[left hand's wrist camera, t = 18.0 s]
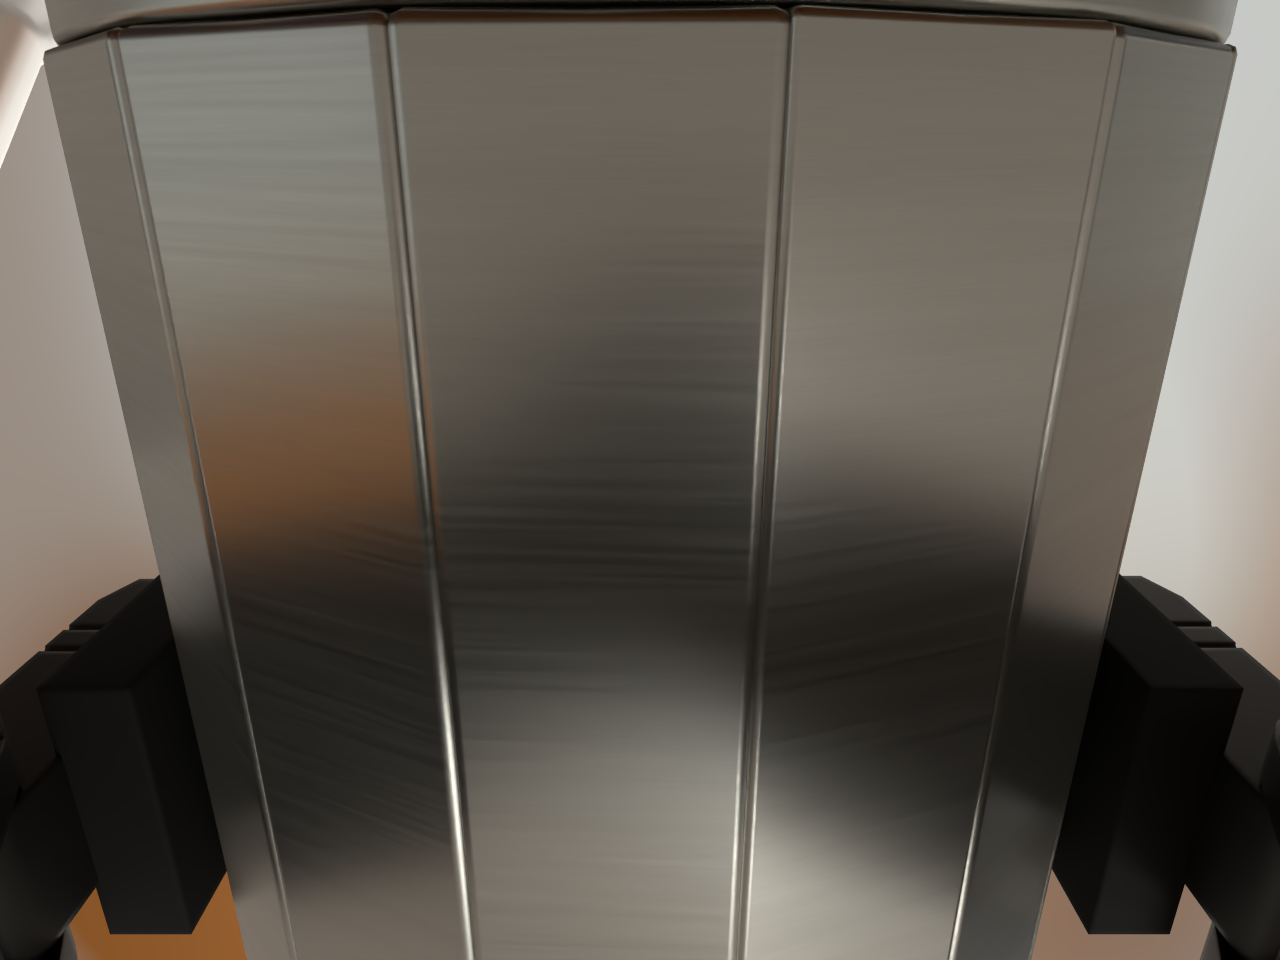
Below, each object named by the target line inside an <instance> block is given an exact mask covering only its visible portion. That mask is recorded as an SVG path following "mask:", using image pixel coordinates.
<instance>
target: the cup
mask: <svg viewBox="0 0 1280 960" xmlns="http://www.w3.org/2000/svg"><path fill="white" fill-rule="evenodd" d="M1237 2H1238V0H45V5H46V9H47V14H48V18H49V23H50V27H51V32H52V35H53V39H54V40H55V42H56V44H57V45H58V46H57V47H54V48H51V49H49V50H46V51H45V52H44V57H43V62H44V66H45V71H46V75H47V79H48V84H49V88H50V93H51V97H52V101H53V106H54V110H55V115H56V119H57V124H58V128H59V132H60V137H61V141H62V145H63V150H64V154H65V159H66V163H67V168H68V172H69V176H70V181H71V185H72V190H73V194H74V199H75V203H76V207H77V212H78V216H79V220H80V225H81V229H82V234H83V238H84V243H85V247H86V251H87V256H88V260H89V265H90V269H91V274H92V278H93V282H94V287H95V291H96V296H97V300H98V304H99V309H100V313H101V318H102V322H103V326H104V331H105V335H106V340H107V344H108V348H109V353H110V357H111V362H112V366H113V371H114V375H115V379H116V384H117V388H118V393H119V397H120V402H121V406H122V410H123V415H124V419H125V424H126V428H127V432H128V437H129V441H130V446H131V450H132V454H133V459H134V463H135V468H136V472H137V476H138V481H139V485H140V490H141V494H142V499H143V503H144V507H145V512H146V516H147V520H148V525H149V529H150V534H151V538H152V543H153V547H154V551H155V556H156V560H157V565H158V569H159V574H160V578H161V582H162V587H163V591H164V596H165V600H166V604H167V609H168V613H169V618H170V622H171V627H172V631H173V635H174V640H175V644H176V649H177V653H178V657H179V662H180V666H181V671H182V675H183V679H184V684H185V688H186V693H187V697H188V702H189V706H190V710H191V715H192V719H193V724H194V728H195V732H196V737H197V741H198V746H199V750H200V755H201V759H202V763H203V768H204V772H205V777H206V781H207V785H208V790H209V794H210V799H211V803H212V807H213V812H214V816H215V821H216V825H217V830H218V834H219V838H220V843H221V847H222V852H223V856H224V860H225V865H226V869H227V873H228V878H229V882H230V887H231V891H232V896H233V900H234V904H235V909H236V913H237V918H238V922H239V926H240V931H241V935H242V940H243V944H244V949H245V953H246V957H247V960H1031V957H1032V953H1033V949H1034V944H1035V940H1036V935H1037V931H1038V926H1039V922H1040V918H1041V914H1042V909H1043V905H1044V900H1045V896H1046V892H1047V887H1048V883H1049V878H1050V874H1051V870H1052V865H1053V861H1054V856H1055V852H1056V848H1057V843H1058V839H1059V835H1060V830H1061V826H1062V821H1063V817H1064V813H1065V808H1066V804H1067V799H1068V795H1069V791H1070V786H1071V782H1072V777H1073V773H1074V769H1075V764H1076V760H1077V756H1078V751H1079V747H1080V742H1081V738H1082V734H1083V729H1084V725H1085V720H1086V716H1087V712H1088V707H1089V703H1090V699H1091V694H1092V690H1093V685H1094V681H1095V677H1096V672H1097V668H1098V663H1099V659H1100V655H1101V650H1102V646H1103V641H1104V637H1105V633H1106V628H1107V624H1108V620H1109V615H1110V611H1111V606H1112V602H1113V598H1114V593H1115V589H1116V584H1117V580H1118V576H1119V571H1120V567H1121V562H1122V558H1123V554H1124V549H1125V545H1126V540H1127V536H1128V532H1129V527H1130V523H1131V519H1132V514H1133V510H1134V505H1135V501H1136V497H1137V492H1138V488H1139V483H1140V479H1141V474H1142V470H1143V466H1144V462H1145V457H1146V453H1147V448H1148V444H1149V440H1150V435H1151V431H1152V426H1153V422H1154V418H1155V413H1156V409H1157V404H1158V400H1159V396H1160V391H1161V387H1162V383H1163V378H1164V374H1165V369H1166V365H1167V361H1168V356H1169V352H1170V347H1171V343H1172V339H1173V334H1174V330H1175V326H1176V321H1177V317H1178V312H1179V308H1180V303H1181V299H1182V295H1183V290H1184V286H1185V282H1186V277H1187V273H1188V268H1189V264H1190V260H1191V255H1192V251H1193V246H1194V242H1195V238H1196V233H1197V229H1198V225H1199V220H1200V216H1201V211H1202V207H1203V203H1204V198H1205V194H1206V189H1207V185H1208V181H1209V176H1210V172H1211V168H1212V163H1213V159H1214V154H1215V150H1216V146H1217V141H1218V137H1219V132H1220V128H1221V123H1222V119H1223V115H1224V110H1225V106H1226V102H1227V97H1228V93H1229V89H1230V84H1231V80H1232V75H1233V71H1234V66H1235V62H1236V57H1237V50H1236V47H1235V46H1232V45H1230V44H1224V43H1225V42H1226V40H1227V38H1228V37H1229V35H1230V33H1231V29H1232V24H1233V19H1234V15H1235V11H1236V6H1237Z"/></svg>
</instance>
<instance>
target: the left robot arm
mask: <svg viewBox="0 0 1280 960" xmlns="http://www.w3.org/2000/svg"><path fill="white" fill-rule="evenodd" d="M1235 644H1236V643H1235V642H1234V641H1233V640H1232V639H1231V638H1230V637H1229V636H1227V635H1226V634H1225V633H1224V632H1223V631H1221V630H1220V629H1219V628H1218V627H1212V626H1211V621H1210V620H1209V619H1208V618H1206V617H1205V616H1204V615H1203V614H1202V613H1200V612H1199V611H1198V610H1197V609H1196V608H1195V607H1193V606H1192V605H1191V604H1190V603H1189V602H1188V601H1187V600H1185V599H1184V598H1183V597H1181V596H1179V595H1177V594H1175V593H1173V592H1171V591H1170V590H1167V589H1166V588H1164V587H1162V586H1160V585H1158V584H1156V583H1154V582H1152V581H1150V580H1148V579H1146V578H1144V577H1142V576H1121V575H1120V574H1119V576H1118V580H1117V584H1116V589H1115V593H1114V598H1113V602H1112V606H1111V611H1110V615H1109V620H1108V624H1107V628H1106V633H1105V637H1104V641H1103V646H1102V650H1101V655H1100V659H1099V663H1098V668H1097V672H1096V677H1095V681H1094V685H1093V690H1092V694H1091V699H1090V703H1089V707H1088V712H1087V716H1086V720H1085V725H1084V729H1083V734H1082V738H1081V742H1080V747H1079V751H1078V756H1077V760H1076V764H1075V769H1074V773H1073V777H1072V782H1071V786H1070V791H1069V795H1068V799H1067V804H1066V808H1065V813H1064V817H1063V821H1062V826H1061V830H1060V835H1059V839H1058V843H1057V848H1056V852H1055V856H1054V861H1053V865H1052V870H1053V871H1054V873H1055V875H1056V877H1057V879H1058V881H1059V882H1060V884H1061V886H1062V888H1063V889H1064V891H1065V893H1066V895H1067V897H1068V898H1069V900H1070V902H1071V904H1072V906H1073V907H1074V909H1075V911H1076V913H1077V914H1078V916H1079V918H1080V920H1081V922H1082V923H1083V925H1084V927H1085V929H1086V931H1087V932H1088V934H1170V931H1171V928H1172V925H1173V921H1174V918H1175V915H1176V911H1177V908H1178V905H1179V901H1180V898H1181V895H1182V892H1183V888H1184V885H1185V884H1186V886H1187V887H1188V889H1189V890H1190V891H1191V893H1192V894H1193V896H1194V897H1195V898H1196V900H1197V901H1198V902H1199V904H1200V905H1201V907H1202V908H1203V909H1204V911H1205V912H1206V913H1207V915H1208V916H1209V918H1210V919H1211V920H1212V924H1211V926H1210V930H1209V933H1208V936H1207V939H1206V942H1205V945H1204V948H1203V951H1202V954H1201V957H1200V960H1280V680H1279V679H1278V678H1276V677H1275V676H1274V675H1273V674H1272V673H1271V672H1269V671H1268V670H1267V669H1266V668H1265V667H1264V666H1262V665H1261V664H1260V663H1259V662H1258V661H1257V660H1255V659H1254V658H1253V657H1252V656H1251V655H1250V654H1248V653H1247V652H1246V651H1245V650H1244V649H1243V648H1236V645H1235ZM226 871H227V869H226V865H225V860H224V856H223V852H222V847H221V843H220V838H219V834H218V830H217V825H216V821H215V816H214V812H213V807H212V803H211V799H210V794H209V790H208V785H207V781H206V777H205V772H204V768H203V763H202V759H201V755H200V750H199V746H198V741H197V737H196V732H195V728H194V724H193V719H192V715H191V710H190V706H189V702H188V697H187V693H186V688H185V684H184V679H183V675H182V671H181V666H180V662H179V657H178V653H177V649H176V644H175V640H174V635H173V631H172V627H171V622H170V618H169V613H168V609H167V604H166V600H165V596H164V591H163V587H162V582H161V578H160V575H158V576H157V577H156V578H155V579H139V580H137V581H135V582H133V583H131V584H129V585H127V586H125V587H123V588H121V589H119V590H117V591H115V592H113V593H111V594H109V595H107V596H105V597H103V598H101V599H100V600H98V601H97V602H96V603H94V604H93V605H92V606H91V607H90V608H89V609H87V610H86V611H85V612H84V613H83V614H82V615H80V616H79V617H78V618H77V619H76V620H75V621H74V622H72V623H71V624H70V625H69V630H63V631H62V632H61V633H60V634H58V635H57V636H56V637H55V638H54V639H53V640H52V641H50V642H49V643H48V644H47V645H46V646H45V651H39V652H38V653H36V654H35V655H34V656H33V657H32V658H31V659H30V660H28V661H27V662H26V663H25V664H24V665H23V666H21V667H20V668H19V669H18V670H17V671H16V672H14V673H13V674H12V675H11V676H10V677H9V678H8V679H6V680H5V681H4V682H3V683H2V684H1V685H0V960H78V959H77V953H76V946H75V942H74V939H73V936H72V933H71V930H70V926H69V924H70V922H71V921H72V920H73V918H74V917H75V915H76V914H77V913H78V911H79V910H80V908H81V907H82V906H83V904H84V903H85V901H86V900H87V899H88V897H89V896H90V895H91V893H92V892H93V890H94V889H95V888H96V889H97V892H98V896H99V899H100V902H101V906H102V909H103V912H104V915H105V919H106V922H107V925H108V929H109V932H110V934H192V932H193V930H194V928H195V927H196V925H197V923H198V921H199V919H200V918H201V916H202V914H203V912H204V911H205V909H206V907H207V905H208V903H209V902H210V900H211V898H212V896H213V894H214V893H215V891H216V889H217V887H218V885H219V884H220V882H221V880H222V878H223V877H224V875H225V873H226Z"/></svg>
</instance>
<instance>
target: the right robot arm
mask: <svg viewBox="0 0 1280 960" xmlns="http://www.w3.org/2000/svg"><path fill="white" fill-rule="evenodd" d="M57 46H58V45H57V44H56V42H55V40H54V39H53V35H52V32H51V27H50V23H49V18H48V14H47V9H46V5H45V0H0V168H1V165H2V163H3V160H4V158H5V155H6V152H7V150H8V147H9V145H10V142H11V140H12V137H13V135H14V132H15V130H16V127H17V125H18V122H19V120H20V117H21V115H22V112H23V110H24V107H25V105H26V102H27V99H28V97H29V95H30V92H31V89H32V87H33V84H34V82H35V79H36V77H37V74H38V72H39V69H40V67H41V66H42V65H43V64H44V62H43V57H44V52H45V51H46V50H49V49H51V48H54V47H57Z"/></svg>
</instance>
